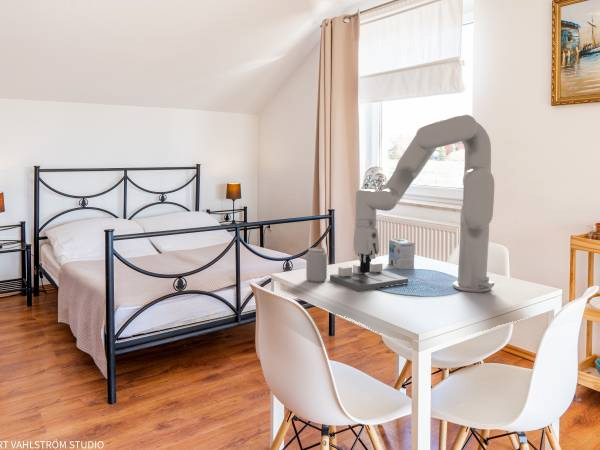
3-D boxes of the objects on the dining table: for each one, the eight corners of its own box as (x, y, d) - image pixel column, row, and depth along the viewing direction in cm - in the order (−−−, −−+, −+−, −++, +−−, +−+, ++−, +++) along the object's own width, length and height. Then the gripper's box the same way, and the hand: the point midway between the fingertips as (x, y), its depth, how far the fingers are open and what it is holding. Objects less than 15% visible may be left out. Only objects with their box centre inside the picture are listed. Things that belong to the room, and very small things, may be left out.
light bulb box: (387, 264, 222) (388, 239, 220) (402, 263, 224) (402, 238, 222) (399, 269, 212) (400, 243, 210) (414, 268, 214) (415, 242, 212)
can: (315, 284, 188) (315, 251, 186) (302, 280, 194) (302, 248, 192) (330, 280, 193) (331, 249, 191) (317, 277, 198) (317, 246, 197)
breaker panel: (408, 283, 189) (408, 269, 188) (358, 291, 178) (358, 276, 177) (377, 273, 204) (377, 260, 204) (329, 280, 194) (330, 266, 193)
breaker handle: (366, 272, 196) (366, 265, 195) (357, 274, 194) (357, 266, 193) (361, 271, 198) (361, 263, 198) (352, 272, 196) (353, 264, 196)
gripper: (386, 224, 186) (385, 275, 188) (361, 220, 198) (361, 267, 201) (370, 226, 182) (369, 277, 185) (345, 221, 195) (345, 269, 197)
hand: (364, 272), depth 193 cm, fingers closed
